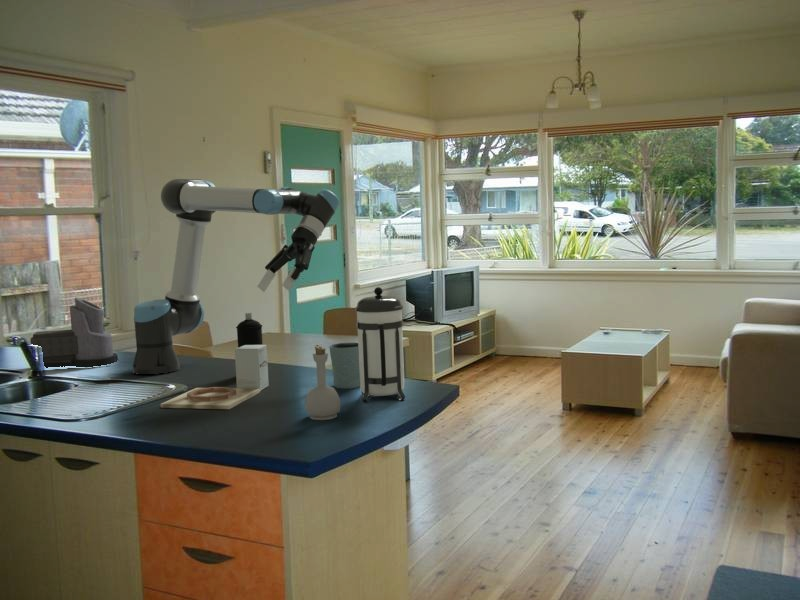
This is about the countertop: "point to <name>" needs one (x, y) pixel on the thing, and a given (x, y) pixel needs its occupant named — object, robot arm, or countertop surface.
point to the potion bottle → (322, 392)
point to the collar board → (211, 398)
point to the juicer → (78, 339)
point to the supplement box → (251, 367)
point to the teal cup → (345, 365)
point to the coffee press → (380, 346)
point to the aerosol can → (249, 332)
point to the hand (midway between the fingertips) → (273, 288)
